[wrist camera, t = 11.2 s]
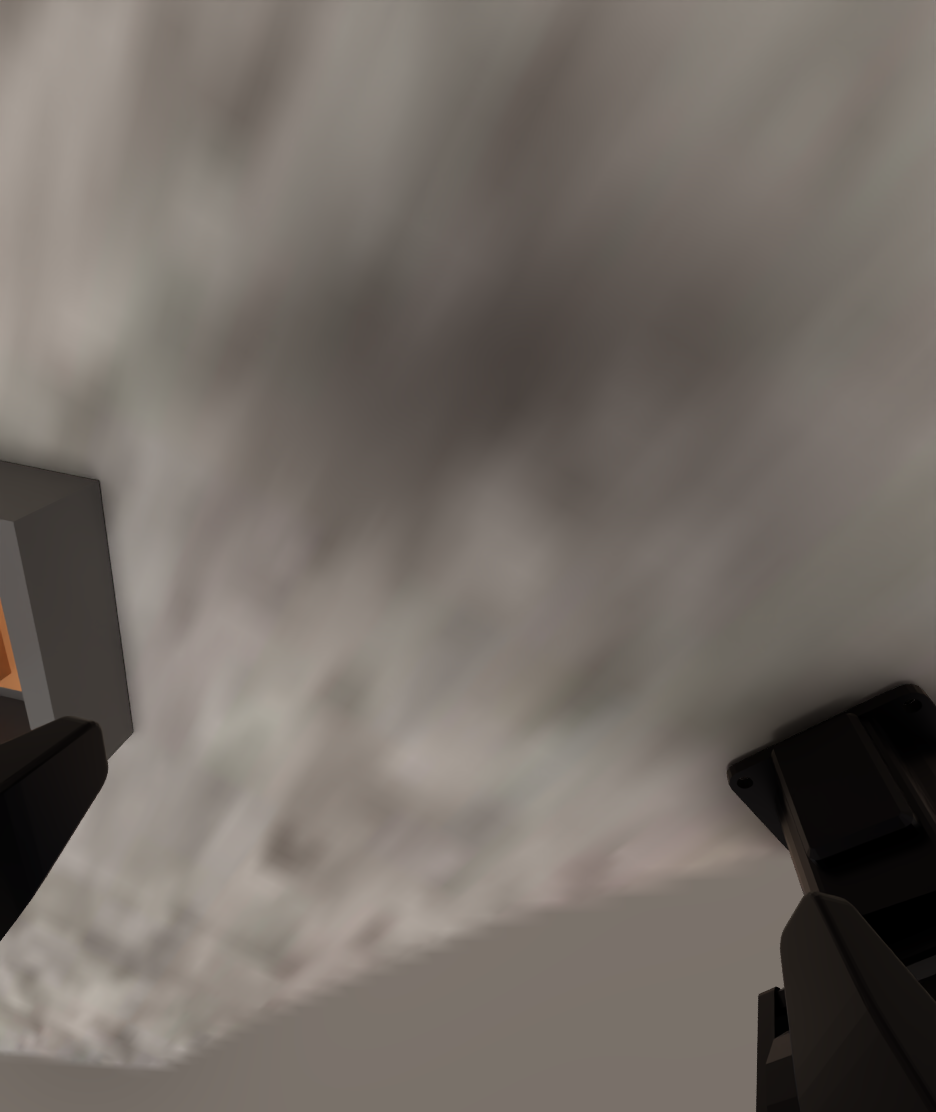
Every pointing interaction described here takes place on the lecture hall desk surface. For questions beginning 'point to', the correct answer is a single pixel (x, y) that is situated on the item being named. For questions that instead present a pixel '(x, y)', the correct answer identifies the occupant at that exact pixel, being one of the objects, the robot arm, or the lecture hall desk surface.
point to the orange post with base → (7, 658)
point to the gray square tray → (59, 605)
